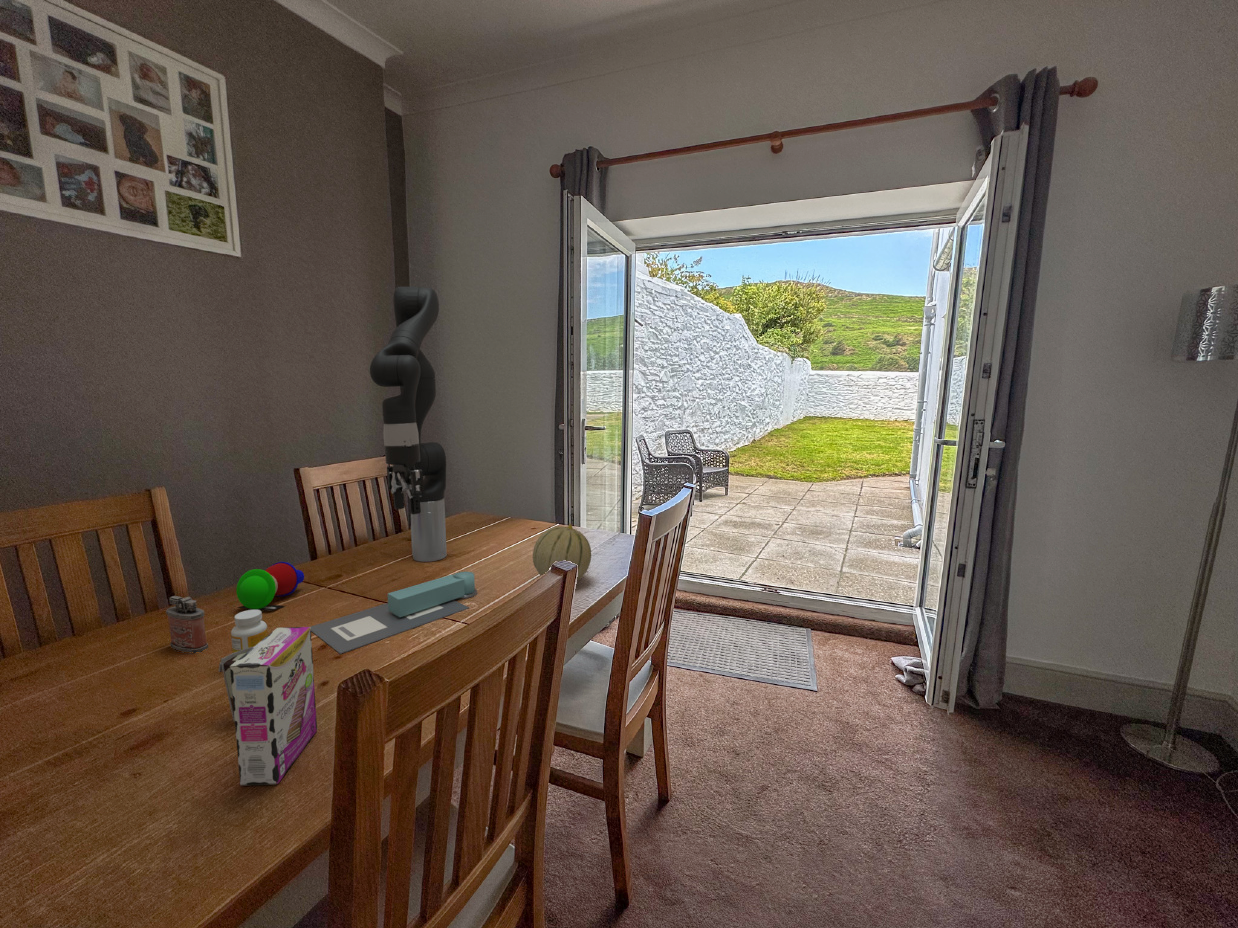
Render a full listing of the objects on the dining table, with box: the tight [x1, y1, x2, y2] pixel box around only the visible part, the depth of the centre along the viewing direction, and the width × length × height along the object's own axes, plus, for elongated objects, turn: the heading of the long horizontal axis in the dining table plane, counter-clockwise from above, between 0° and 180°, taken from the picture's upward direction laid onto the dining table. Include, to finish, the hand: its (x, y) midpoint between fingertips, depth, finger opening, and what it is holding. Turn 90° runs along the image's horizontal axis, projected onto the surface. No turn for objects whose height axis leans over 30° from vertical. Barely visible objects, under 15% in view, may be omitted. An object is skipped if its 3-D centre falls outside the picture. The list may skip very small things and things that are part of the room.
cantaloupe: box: [532, 523, 592, 581], centre depth 138 cm, size 15×15×15 cm
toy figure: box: [235, 561, 305, 611], centre depth 125 cm, size 9×10×15 cm
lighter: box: [165, 595, 209, 654], centre depth 103 cm, size 8×3×10 cm, turn 71°
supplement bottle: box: [230, 609, 269, 653], centre depth 97 cm, size 5×5×10 cm
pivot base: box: [455, 588, 478, 600], centre depth 131 cm, size 6×6×1 cm
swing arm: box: [387, 571, 476, 617], centre depth 125 cm, size 5×20×4 cm, turn 139°
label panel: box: [310, 599, 470, 655], centre depth 118 cm, size 16×28×1 cm, turn 139°
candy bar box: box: [230, 626, 318, 787], centre depth 73 cm, size 11×5×16 cm, turn 5°
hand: (407, 511), depth 128 cm, fingers open, 8 cm apart
